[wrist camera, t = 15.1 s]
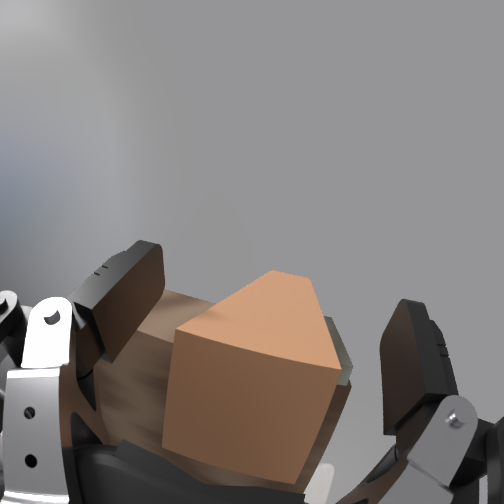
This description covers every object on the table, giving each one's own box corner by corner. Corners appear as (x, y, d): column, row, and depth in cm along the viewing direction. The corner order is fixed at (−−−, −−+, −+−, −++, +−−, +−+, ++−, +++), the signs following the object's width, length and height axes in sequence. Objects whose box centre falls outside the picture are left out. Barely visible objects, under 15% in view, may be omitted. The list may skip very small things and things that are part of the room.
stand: (108, 536, 17) (84, 290, 16) (145, 488, 29) (163, 276, 28) (240, 583, 15) (358, 367, 14) (256, 523, 26) (334, 318, 25)
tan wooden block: (161, 447, 7) (175, 328, 7) (263, 306, 30) (272, 269, 30) (294, 484, 6) (341, 369, 6) (300, 315, 30) (309, 278, 30)
